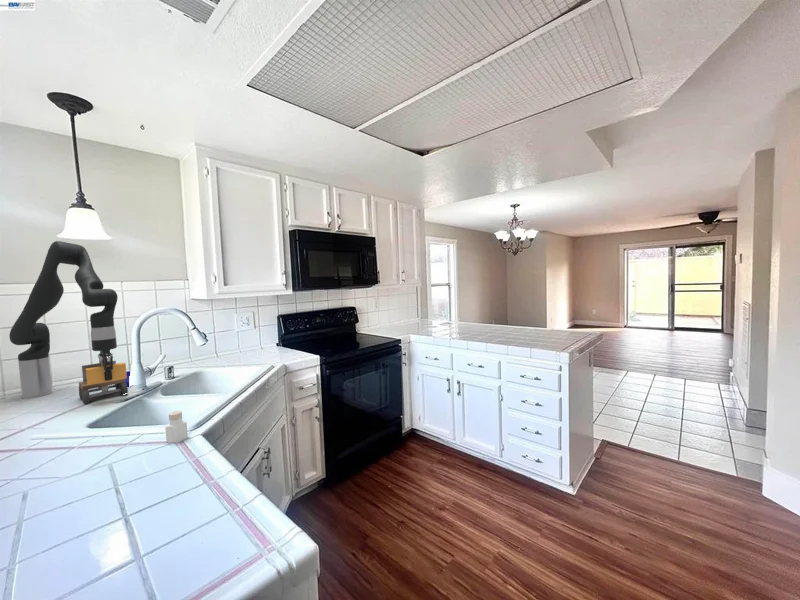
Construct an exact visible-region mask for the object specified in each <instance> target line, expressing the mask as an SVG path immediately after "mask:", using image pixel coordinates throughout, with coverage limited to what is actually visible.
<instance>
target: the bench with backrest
mask: <svg viewBox="0 0 800 600" xmlns="http://www.w3.org/2000/svg"><path fill="white" fill-rule="evenodd" d="M113 364H117V360H113ZM99 366H100V364H99V362H96V363H91V364H86V365H81V372H82V381H79V382H78V396H79V400H80V401H81V400H82V403H83V405H88V404H90V403H91V398H94V397H100V396H105V395H109V394H114V393H120V395H121V394H125V393H128V394H129V390H128V389H129V388H127V384H126V379H119V380H114V381H108V382H102V383H97V384H91V385H87V376H86V368H92V367H99ZM114 388H115V389H114ZM109 389H110V390H109ZM99 391H101V392H99ZM119 391H120V392H119ZM94 392H97V393H94Z"/></svg>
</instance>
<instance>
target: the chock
mask: <svg viewBox="0 0 800 600" xmlns="http://www.w3.org/2000/svg"><path fill="white" fill-rule="evenodd" d="M126 365H127V364H126V362H120V363H116V364H113V370H112V380H108V381H114V380H119V379H125V378H127V373H126V372H127V366H126ZM107 367H110V366H109V365H107V366H106V368H107ZM103 370H104V369H103V366H99V367H92V368H86V376H87V385H91V384H97V383H102V382H108V381H105V376H104V371H103Z"/></svg>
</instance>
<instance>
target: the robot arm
mask: <svg viewBox="0 0 800 600" xmlns="http://www.w3.org/2000/svg"><path fill="white" fill-rule="evenodd" d="M89 255H90V254H89V252H88V250H87V249H86V248H85V247H84V245H83V246H82V245H80V244H76V243H70V242H66V241H61V240H56V241H54V242H52V243H51V245H50V246H49V247H48V249H47V253H46V256H45V260H44V263H43V265H42V268H41V271H40V273H39V276H38V278H37V279H36V281H35V283H34V286H33V287H32V290H31V292H30V294H29V296H28V300H27V301H26V304H25V306H24V308H23V309H22V311H21V312H20V314H19V316H18V317H17V319H16V321H15V322H14V324H13V325H12V327H11V329H10V331H9V341H10V342H11V343H12V344H13V345H15V346H25V345H30V346H29V348H27V349H26V350H24V351H22V352H20V353H19V354H18V356H17V361H18V370H19V379H20V380H19V381H20V392H21V399H22V400H28V399H36V398H41V397H44V396H48V395H51V394H53V388H52V375H51V368H50V366H51V365H50V357H49V353H50V349H51V342H50V341H51V339H50V338H51V337H50V336H51V333H50V328H49V327H48V325H47V324H46V323H44V322H38V321H39V320H40V319H41V318H42V317H43V316H45V315H46V314H47V313H49V312H50V311H52V310H53V309H54V308H55V307H56V306H58V305H59V302H60V301H61V299H62V297H63V294H64V291H65V290H64V286H63V283H62V281H61V279H60V277H59V275H58V267H59V265H60V264H65V265H69V266H71V265H72V266H77V267H78V269H77V270H76V272H75V274H74V280H75V282H76V283H77V286H78V287H79V288H80V290H81V297H82V298H81V299H82V300H81V301H82V303H83V304H84V305H85V306H87V307H89V308H94V307H95V308H97V307H104V308H103V309H102V310H101V311H98V312H94V313H91V314H90V317H89V319H90V320H89V321H90V340H91V341H90V342H91V350H92V352H93V351H94V352H99V353H98V355H97V358H98V363H99V364H100V366H103V369H104V370H103V371H104V376H105V381H108V380H112V370H113V361H114V360H113V359H114V356H113V355H114V354H113V353H112V352H111V350H115V349H116V348H118V345H117V344H118V343H117V334H116V328H115V321H114V319H115V318H114V316H115V315H114V314H115V310H116V306H117V302H118V294H117V291H115V289H112V288H104V283H103V281H102V280H101V279H100V277H99V276H98V275H97V273H96V272H95V270H94V266H93V263H92V261H91V258H90V256H89ZM107 365H109V366H110V367H107V368H106V366H107Z"/></svg>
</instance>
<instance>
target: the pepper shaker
mask: <svg viewBox="0 0 800 600" xmlns="http://www.w3.org/2000/svg"><path fill="white" fill-rule="evenodd" d="M168 422H169V423H168V424H167V425H166V426H165V429H164V430H165V438H166V443H171V444H178V443H179V442H182V441H183V440H186V439H187V438H188V436H189V435H188V422H187V421H184V420H183V411H182V410H175V411H171V412H169V413H168Z"/></svg>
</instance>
